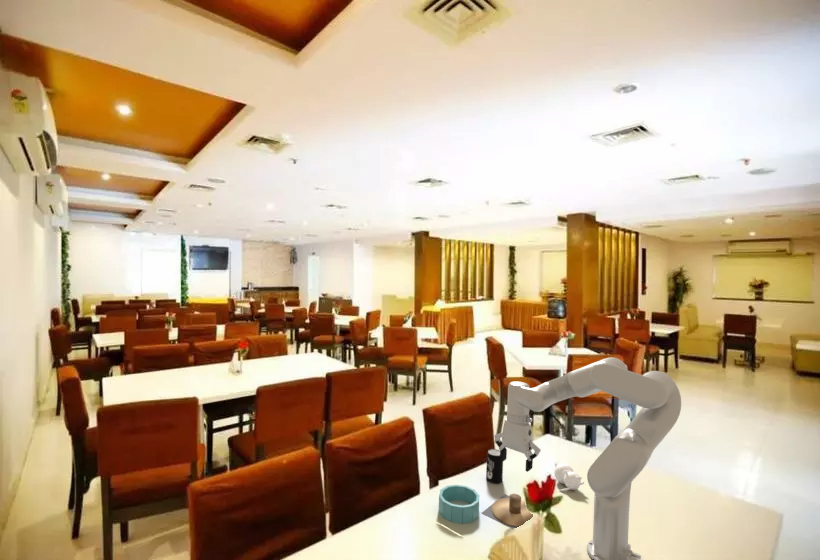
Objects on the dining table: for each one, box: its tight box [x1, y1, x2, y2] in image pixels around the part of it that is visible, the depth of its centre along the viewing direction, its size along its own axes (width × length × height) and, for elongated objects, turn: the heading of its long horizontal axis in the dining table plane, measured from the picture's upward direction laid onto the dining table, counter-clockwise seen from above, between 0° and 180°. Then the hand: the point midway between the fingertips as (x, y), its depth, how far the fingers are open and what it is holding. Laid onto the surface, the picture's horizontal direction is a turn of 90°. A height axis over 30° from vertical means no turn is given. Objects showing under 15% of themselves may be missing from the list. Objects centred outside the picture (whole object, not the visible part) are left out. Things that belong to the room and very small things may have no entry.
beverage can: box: [485, 448, 504, 485], centre depth 164 cm, size 7×7×12 cm
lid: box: [491, 493, 533, 527], centre depth 142 cm, size 16×16×6 cm
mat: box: [481, 493, 517, 529], centre depth 142 cm, size 17×17×1 cm
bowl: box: [438, 484, 480, 525], centre depth 142 cm, size 14×14×6 cm
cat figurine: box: [554, 461, 585, 492], centre depth 162 cm, size 9×11×12 cm
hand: (515, 465), depth 142 cm, fingers open, 9 cm apart
